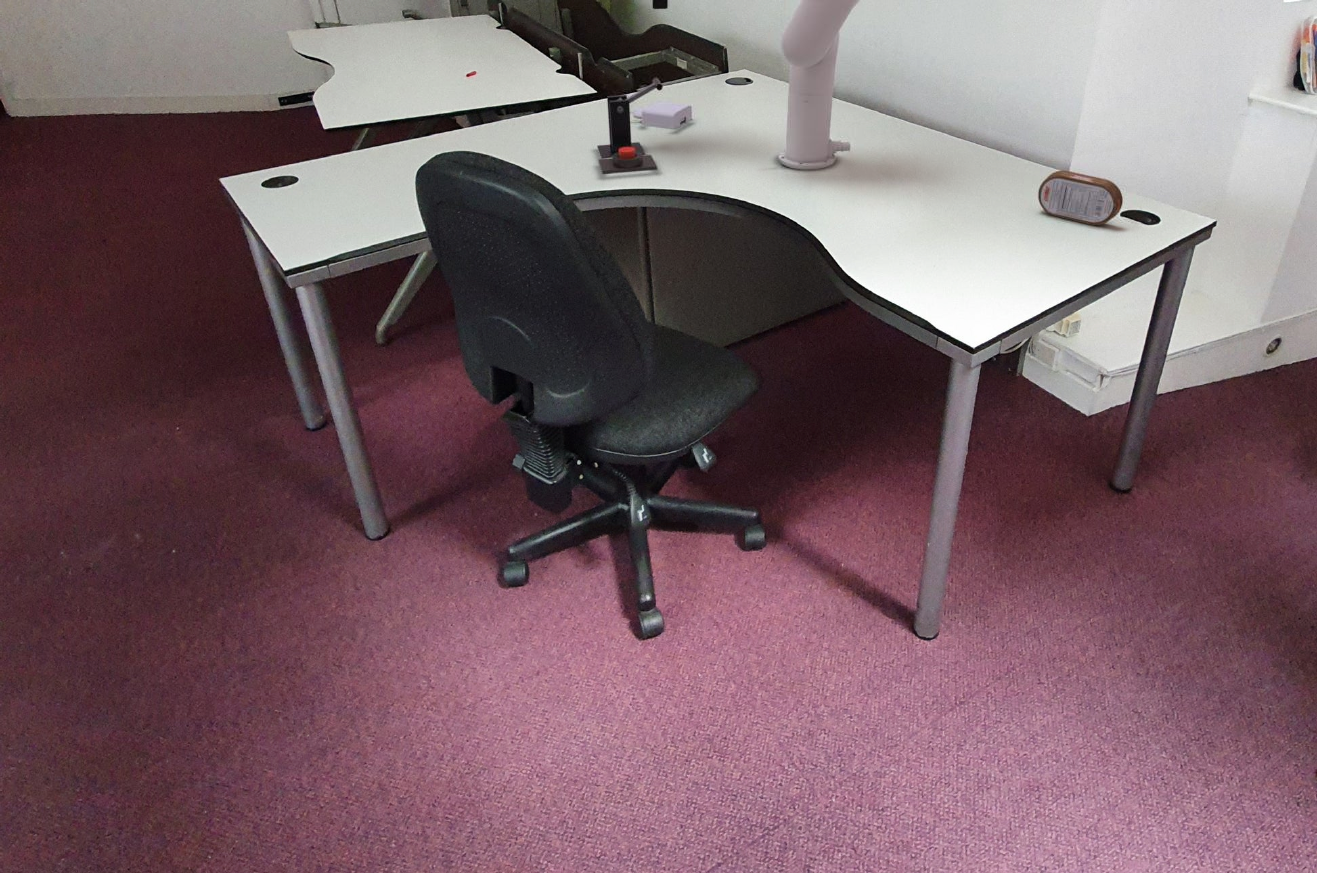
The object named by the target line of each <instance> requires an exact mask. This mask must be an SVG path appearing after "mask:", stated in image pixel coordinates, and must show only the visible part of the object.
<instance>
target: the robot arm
mask: <svg viewBox="0 0 1317 873" xmlns="http://www.w3.org/2000/svg"><path fill="white" fill-rule="evenodd" d="M860 1H861V0H800V1H799V3H798V5H797V6H796V8H795V10H794V12H793V14H792V15H791V17H790V19H789V21H788V23H787V25H786V26H785V28H784V30H783V32H782V36H781V40H780V41H781V42H780V43H781V51H782V54H783V56H784V58H785V60H786V61H787V62H788V63H789V64H790V66H789V77H788V93H787V114H786V132H785V133H786V135H785V136H786V137H785V149H784V150H782V151H780V153H778V156H777V158H778V160H777V162H778V163H779V164H781V165H783V166H785V167H788V168H791V169H795V170H796V169H798V170H818V169H824V168H828V167H830V166H832V165H833V164H835V162H836V155H835V154H836V153H837V152H849V151H851V142H849V141H845V142H842V141H841V140H833V139H831V138H830V136H831V125H832V124H831V122H832V108H833V95H834V86H835V73H836V64H837V56H838V51H839V43H840V30H841V29H842V27H843V25H844V23H845V22H846V20H847V19H848V17H849V15H850V13H851V12H852V10H853V9H854V7H856V5H858V4H859V2H860ZM651 2H652V9H653V10H667V9H668V8H669V0H652V1H651Z"/></svg>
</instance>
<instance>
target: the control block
mask: <svg viewBox="0 0 1317 873" xmlns="http://www.w3.org/2000/svg"><path fill="white" fill-rule="evenodd" d="M598 165H599V167H600V170H601V173H602V175H610V174H620V173H621V174H622V173H632V172H633V173H634V172H643V171H656V170H658V166H657V164H656V162H655V159H654V157H653V155H652V154H645V155H642V154H641V153H640V152H637V151H635V157H634V158H628V159H624V158H619V152H617V153H615V154H613V155H612V158H600V159H598Z"/></svg>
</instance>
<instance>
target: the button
mask: <svg viewBox="0 0 1317 873" xmlns="http://www.w3.org/2000/svg"><path fill="white" fill-rule="evenodd" d="M634 157H635V148H633V147H623V148H620V149H619V158H624V159H628V158H634Z"/></svg>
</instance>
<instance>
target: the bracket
mask: <svg viewBox="0 0 1317 873" xmlns="http://www.w3.org/2000/svg"><path fill="white" fill-rule="evenodd" d="M619 98H621V99H622V100H617V99H619ZM627 98H628V95H627V94H617V95H616V94H615V95H606V102H607V103H606V104H607V116H608V133H609V134H608V135H609V144H601V145H600V144H598V145H597V149H598V152H599V155H600V157H601V158H600V159H609V158H612V155H613V154H615V153H617V152H619V149H620V148H623V147H633V148H635V151H637V152H640V153H641V154H642V156H645V155H646V153H645V151H644V149H643V147H642V145H641V143H640V141H637V142H632V131H631V113H630V111H631V110H630V109H631V108H630V106H631V105H630V103H629V99H628V100H625V99H627Z"/></svg>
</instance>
